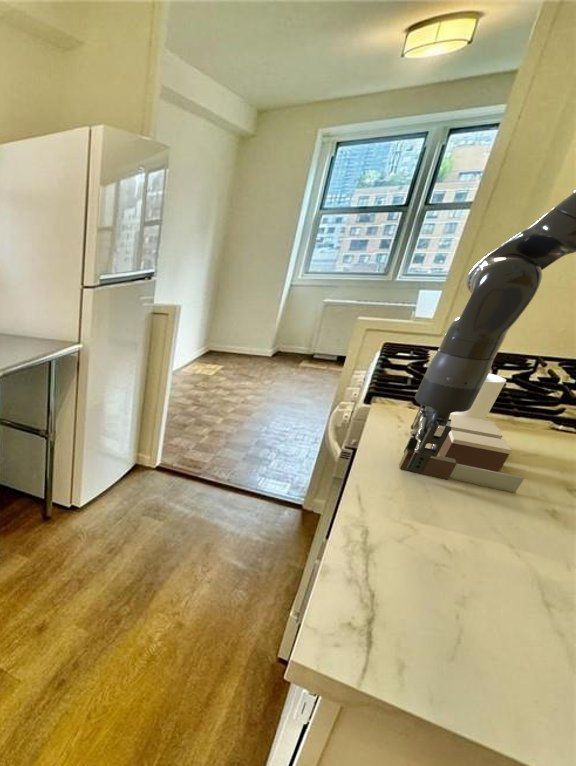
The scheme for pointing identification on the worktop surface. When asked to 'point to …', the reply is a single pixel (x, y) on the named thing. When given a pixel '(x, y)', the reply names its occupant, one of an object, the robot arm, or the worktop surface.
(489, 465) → the cake slice
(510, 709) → the worktop surface
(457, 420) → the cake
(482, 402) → the cup
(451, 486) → the worktop surface
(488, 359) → the robot arm
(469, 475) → the knife
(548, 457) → the worktop surface
